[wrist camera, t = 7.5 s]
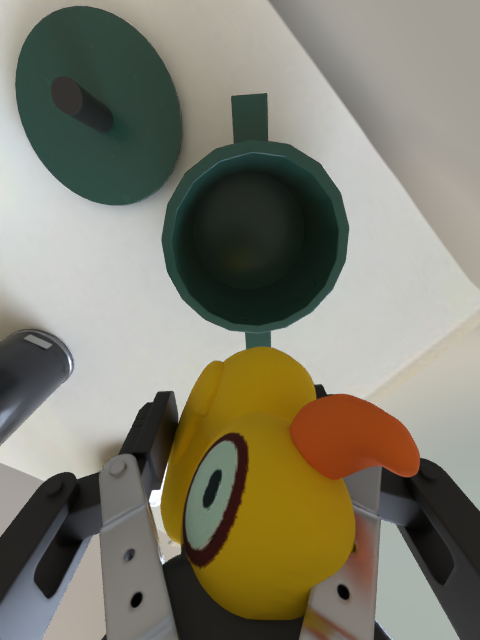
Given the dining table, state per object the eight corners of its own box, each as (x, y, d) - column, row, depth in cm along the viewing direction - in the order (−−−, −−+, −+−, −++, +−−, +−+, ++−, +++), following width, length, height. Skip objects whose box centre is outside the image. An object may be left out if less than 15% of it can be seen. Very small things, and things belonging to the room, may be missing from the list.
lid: (57, 209, 29) (10, 210, 23) (-4, 21, 23) (-90, -46, 17) (192, 200, 29) (181, 199, 23) (169, 8, 23) (144, -64, 17)
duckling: (267, 271, 12) (349, 449, 3) (346, 328, 14) (561, 570, 5) (156, 416, 16) (51, 689, 7) (227, 451, 17) (215, 719, 8)
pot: (198, 315, 35) (182, 362, 24) (174, 140, 27) (135, 97, 16) (305, 309, 35) (336, 353, 24) (314, 130, 27) (365, 81, 16)
